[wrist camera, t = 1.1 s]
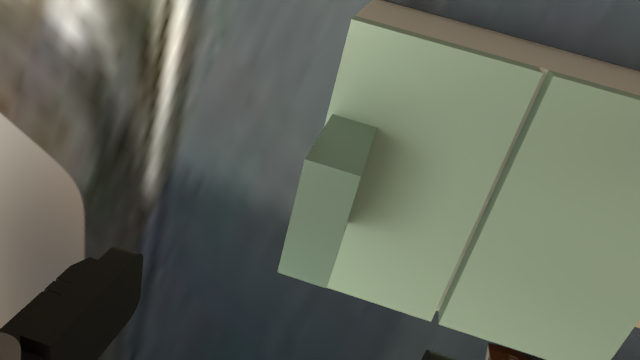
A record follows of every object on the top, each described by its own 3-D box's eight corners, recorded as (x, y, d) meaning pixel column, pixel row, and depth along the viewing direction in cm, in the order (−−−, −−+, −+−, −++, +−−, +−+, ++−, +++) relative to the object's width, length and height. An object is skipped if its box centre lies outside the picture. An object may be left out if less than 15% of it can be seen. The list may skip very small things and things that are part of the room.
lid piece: (535, 62, 21) (574, 113, 15) (431, 299, 27) (428, 403, 21) (358, 13, 21) (326, 42, 15) (295, 254, 27) (255, 343, 21)
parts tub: (678, 81, 25) (770, 136, 18) (562, 278, 32) (598, 376, 24) (374, -3, 27) (351, 19, 20) (319, 202, 33) (286, 274, 26)
